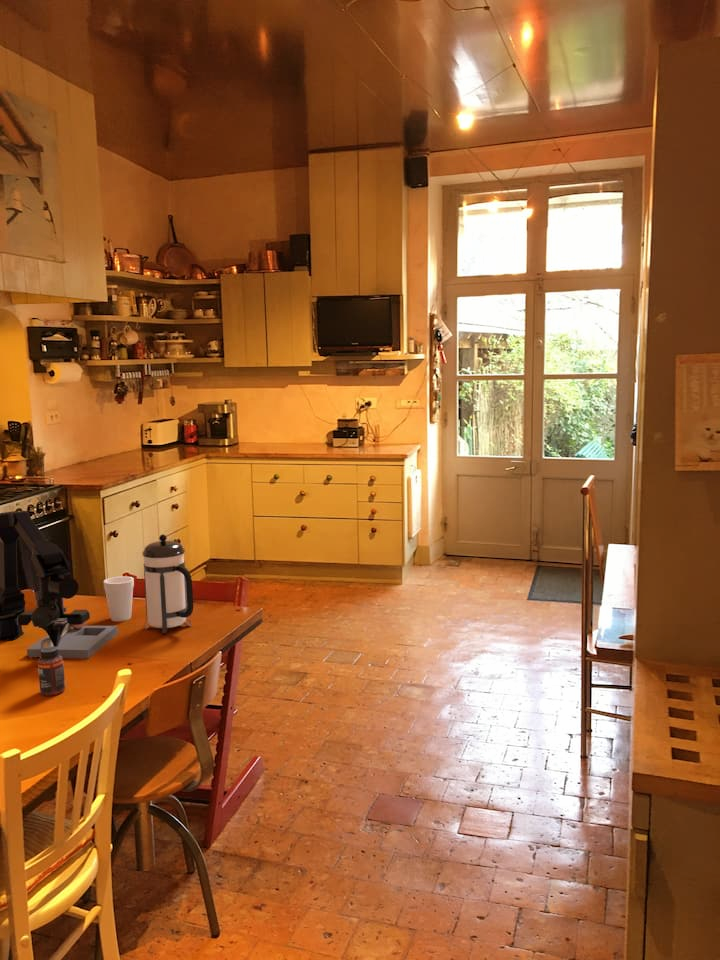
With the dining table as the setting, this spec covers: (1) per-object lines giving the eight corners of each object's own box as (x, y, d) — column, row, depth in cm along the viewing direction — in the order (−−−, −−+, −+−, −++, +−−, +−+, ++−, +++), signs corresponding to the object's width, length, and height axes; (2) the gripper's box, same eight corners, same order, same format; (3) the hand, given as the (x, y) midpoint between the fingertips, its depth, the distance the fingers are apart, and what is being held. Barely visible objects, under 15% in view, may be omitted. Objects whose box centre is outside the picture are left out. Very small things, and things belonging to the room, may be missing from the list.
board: (27, 657, 218) (26, 649, 218) (61, 633, 239) (61, 625, 239) (88, 658, 217) (87, 650, 217) (117, 633, 238) (117, 625, 237)
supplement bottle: (68, 686, 197) (65, 644, 196) (60, 696, 191) (57, 652, 190) (45, 687, 197) (42, 645, 195) (36, 697, 191) (32, 653, 190)
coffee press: (137, 637, 234) (131, 540, 230) (149, 620, 250) (144, 530, 246) (194, 635, 235) (189, 539, 231) (203, 619, 250) (198, 529, 246)
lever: (40, 652, 214) (39, 640, 213) (67, 625, 237) (66, 613, 237) (48, 652, 214) (47, 640, 213) (74, 624, 237) (73, 613, 237)
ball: (67, 629, 234) (68, 617, 233) (73, 625, 237) (74, 613, 237) (80, 631, 233) (81, 618, 233) (86, 627, 237) (87, 615, 237)
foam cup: (126, 623, 247) (124, 584, 246) (100, 622, 249) (98, 583, 247) (140, 614, 257) (138, 576, 255) (115, 613, 258) (113, 575, 257)
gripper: (3, 601, 207) (9, 657, 209) (70, 600, 206) (75, 656, 208) (25, 590, 218) (29, 643, 220) (88, 589, 217) (92, 642, 219)
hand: (56, 646), depth 216 cm, fingers closed
